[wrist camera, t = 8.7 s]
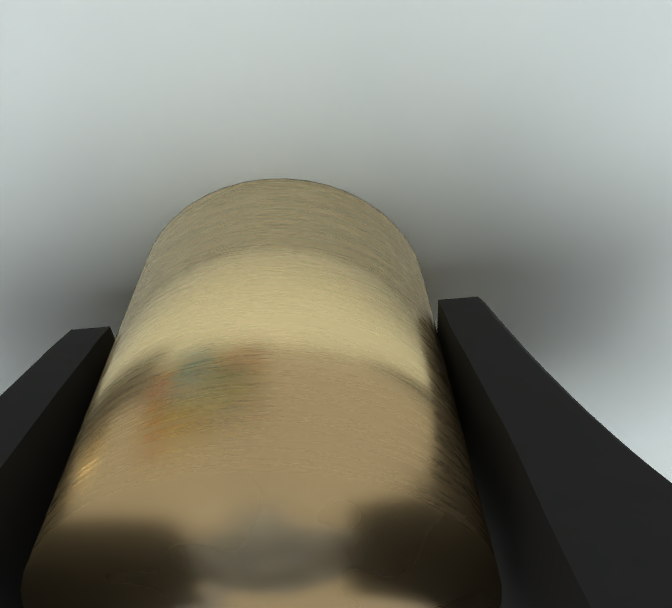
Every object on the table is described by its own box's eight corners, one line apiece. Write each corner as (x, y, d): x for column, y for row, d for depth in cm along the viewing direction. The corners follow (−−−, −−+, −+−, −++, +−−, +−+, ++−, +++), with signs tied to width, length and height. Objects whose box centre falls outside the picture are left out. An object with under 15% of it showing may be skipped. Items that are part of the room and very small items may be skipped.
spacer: (423, 394, 12) (485, 696, 8) (179, 413, 12) (108, 723, 8) (425, 165, 9) (527, 450, 5) (104, 193, 9) (-75, 496, 5)
